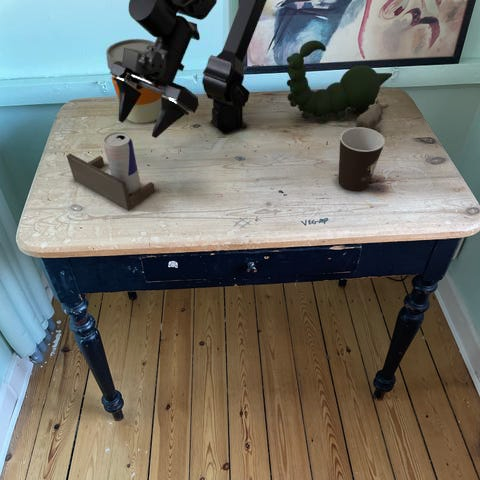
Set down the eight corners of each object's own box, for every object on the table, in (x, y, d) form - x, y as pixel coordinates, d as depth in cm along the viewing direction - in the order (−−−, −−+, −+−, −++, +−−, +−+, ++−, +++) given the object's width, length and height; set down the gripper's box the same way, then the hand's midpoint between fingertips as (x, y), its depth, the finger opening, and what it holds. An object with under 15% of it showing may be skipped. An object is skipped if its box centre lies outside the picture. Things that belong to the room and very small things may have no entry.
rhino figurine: (389, 120, 119) (395, 96, 114) (364, 146, 112) (370, 121, 107) (374, 115, 121) (379, 91, 116) (348, 140, 114) (353, 116, 109)
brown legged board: (101, 163, 109) (95, 138, 104) (155, 191, 102) (151, 166, 97) (74, 180, 105) (66, 155, 100) (128, 210, 98) (122, 185, 94)
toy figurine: (293, 136, 118) (394, 117, 119) (292, 54, 103) (407, 33, 104) (284, 116, 124) (380, 98, 125) (282, 36, 109) (391, 16, 110)
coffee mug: (348, 199, 100) (357, 156, 92) (325, 177, 105) (331, 134, 97) (394, 183, 103) (406, 140, 95) (369, 162, 108) (378, 119, 100)
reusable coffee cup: (142, 96, 128) (132, 34, 116) (179, 110, 123) (172, 47, 111) (107, 116, 121) (93, 53, 109) (145, 132, 116) (134, 67, 105)
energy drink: (146, 187, 103) (136, 135, 94) (132, 202, 100) (121, 149, 91) (125, 181, 104) (113, 129, 95) (110, 195, 101) (97, 142, 92)
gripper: (106, 14, 89) (74, 97, 92) (182, 40, 82) (145, 130, 85) (144, 45, 99) (114, 120, 102) (215, 71, 92) (180, 150, 95)
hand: (136, 129), depth 96 cm, fingers open, 9 cm apart
